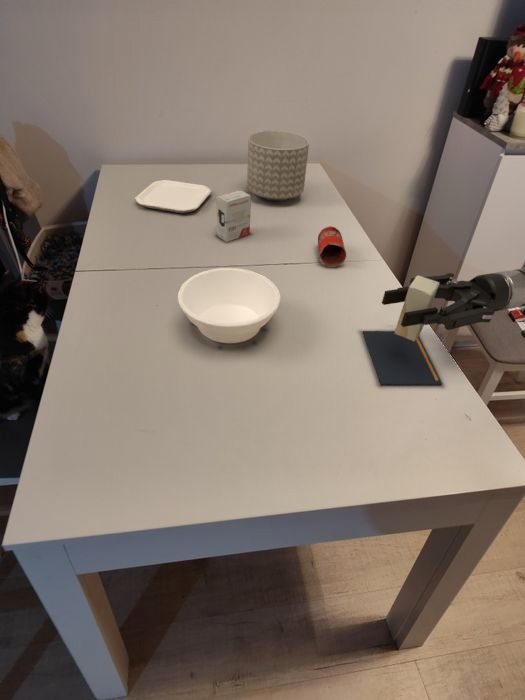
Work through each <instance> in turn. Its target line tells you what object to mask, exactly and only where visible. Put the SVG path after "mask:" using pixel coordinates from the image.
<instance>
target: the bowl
mask: <svg viewBox="0 0 525 700" xmlns="http://www.w3.org/2000/svg"><path fill="white" fill-rule="evenodd" d="M178 290H179V291H178V293H177V302H178V305H179V307H180V309H181V310H182V311H183V312H184V314H185V315H186V318H188V320H189V321H190V322H191V323H192V324H193V325H194V326H196V327H197V328H198V330H199V332H200V333H201V334H202V336H204V337H205V338H208V339H209V340H211V341H214V342H217V343H221V344H237V343H243V342H246V341H249V340H250V339H252V338H254V337H255V336H257V334H258V333H259V332H260V330H261V328H262V327H263V326H265V325H266V324H267V323H268V322H269V321H270V320H271V319H272V318H273V316H274V315H275V312H276V311H277V310H278V309H279V306H280V304H281V299H282V298H281V296H282V295H281V293H280V290H279V288H278V287H277V285H276V284H275V283H274V282H273V281H272V280H271V279H269V278H268V277H266V276H265V275H262V274H260V273H258V272H256V271H253V270H249V269H244V268H236V267H221V268H220V267H218V268H212V269H208V270H204V271H201V272H199V273H196V274H194V275H192V276H191V277H189V278H188V279H186V280H185V281H184V282H183V284H181V286H180V287H179V289H178Z"/></svg>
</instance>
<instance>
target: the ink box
mask: <svg viewBox="0 0 525 700" xmlns="http://www.w3.org/2000/svg"><path fill="white" fill-rule="evenodd" d="M251 209H252V195H251V194H249V193H247V192H245V191H244V190H241V189H240V190H236V191H232V192H229V193H225V194H221V195H217V196H216V233H217V235H216V236H217V237H219V238H220V239H221V240H223V241H224V242H226V243H228V242H231V241H234V240H237V239H240V238H243V237H246V236H248V235H250V234H251Z"/></svg>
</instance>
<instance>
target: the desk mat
mask: <svg viewBox="0 0 525 700" xmlns="http://www.w3.org/2000/svg"><path fill="white" fill-rule="evenodd" d="M362 335H363V338H364V341H365V344H366V346H367V350H368V353H369V356H370V358H371V362H372V364H373V367H374V370H375V373H376V376H377V378H378V382H379V384H380V386H442V385H443V382H442V381H441V379H440V377H439V374H438V373H437V371H436V368H435V367H434V366H435V365H433V363H432V360H431V358H430V356H429V354H428V352H427V350H426V348H425V346H424V344H423V342H422V339H421V338H420V335H419V336H418V338H417V339H416V341H412V340H409V339H407V338H404V337H402V336H399V335H397V334H395V330H387V331H386V330H363V331H362Z"/></svg>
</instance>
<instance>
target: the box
mask: <svg viewBox="0 0 525 700" xmlns="http://www.w3.org/2000/svg"><path fill="white" fill-rule="evenodd" d="M425 277H426V276H421V275H416V276H415V277H414V278H415V279H414V280H413V282H412V283H411V285H410V286H409V285H408V286H409V289H408V292H407V296H406V299H405V302H403V305H402V308H401V311H400V314H399V317H398V320H397V324H396V327H395V329H394V331H395V334H397V335H399V336H402V337H404V338H407V339H409V340H412V341H416V339H417V338H418V336H419V337H420V335H421V332H422V331H423V328H424V326H425V325H423V324H418V325H412V326H406V327H402V325H401V322H402V319H403V316H404V313H405V312H411V311H417V310H423V309H429V308H432V306H433V302H434V301H435V298H434V297H435V294H436V292H437V289H438V286H439V282H437V281H433V280H430V279H428V278H425Z"/></svg>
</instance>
